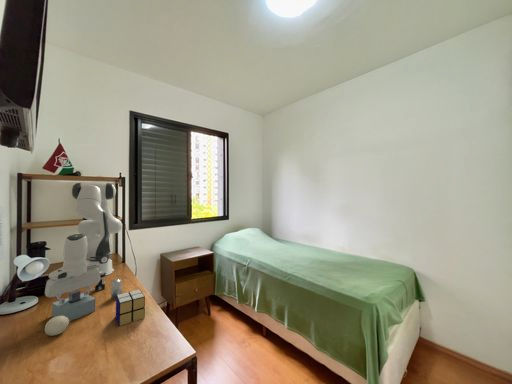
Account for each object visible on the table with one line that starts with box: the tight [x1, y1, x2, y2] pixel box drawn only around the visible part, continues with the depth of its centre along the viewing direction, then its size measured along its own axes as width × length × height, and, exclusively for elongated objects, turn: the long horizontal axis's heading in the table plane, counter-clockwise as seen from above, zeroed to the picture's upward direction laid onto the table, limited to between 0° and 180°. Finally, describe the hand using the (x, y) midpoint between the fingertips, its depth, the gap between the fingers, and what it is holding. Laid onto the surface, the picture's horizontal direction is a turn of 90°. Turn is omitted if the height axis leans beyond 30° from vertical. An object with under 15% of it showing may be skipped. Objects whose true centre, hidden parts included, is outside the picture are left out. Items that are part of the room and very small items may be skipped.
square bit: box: [68, 289, 81, 303], centre depth 100 cm, size 3×3×9 cm
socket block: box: [51, 292, 96, 322], centre depth 100 cm, size 12×12×6 cm
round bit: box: [110, 278, 123, 300], centre depth 117 cm, size 5×5×9 cm
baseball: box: [44, 316, 70, 337], centre depth 86 cm, size 7×7×7 cm
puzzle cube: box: [115, 288, 146, 327], centre depth 97 cm, size 10×10×10 cm
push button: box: [91, 271, 106, 291], centre depth 126 cm, size 7×5×10 cm
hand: (74, 299), depth 100 cm, fingers open, 8 cm apart
